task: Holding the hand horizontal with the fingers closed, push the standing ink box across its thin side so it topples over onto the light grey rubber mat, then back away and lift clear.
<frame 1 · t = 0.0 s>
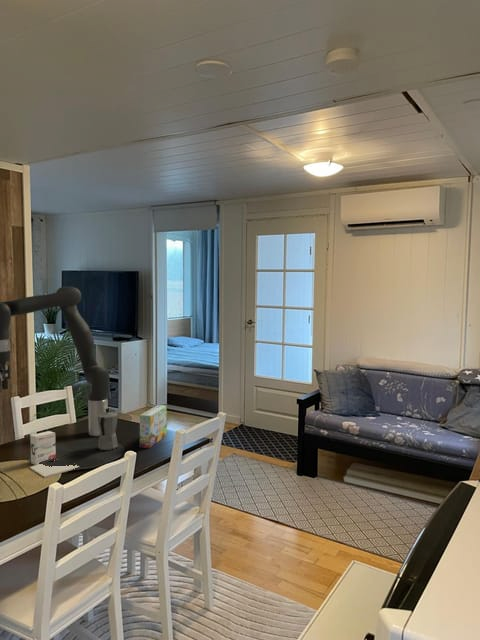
hand: (1, 387, 199), 29 cm above the table, tool pointing down, fingers open, 8 cm apart
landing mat: (54, 468, 186), on the table
snack box: (153, 441, 220), on the table
coffeepot: (107, 449, 209), on the table
ink box: (43, 462, 193), on the table
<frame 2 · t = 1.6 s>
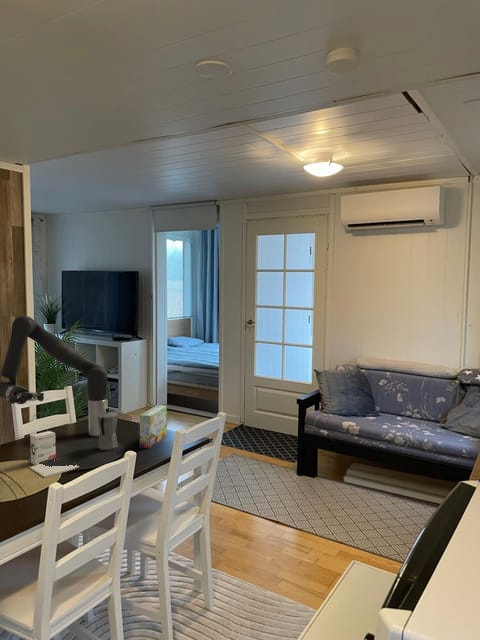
hand: (32, 400, 199), 24 cm above the table, tool horizontal, fingers open, 7 cm apart
nothing on the table moved.
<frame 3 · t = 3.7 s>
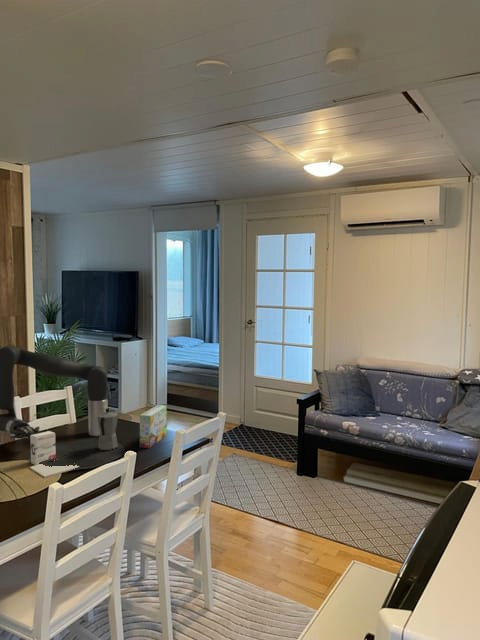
hand: (33, 436, 199), 9 cm above the table, tool horizontal, fingers closed
nothing on the table moved.
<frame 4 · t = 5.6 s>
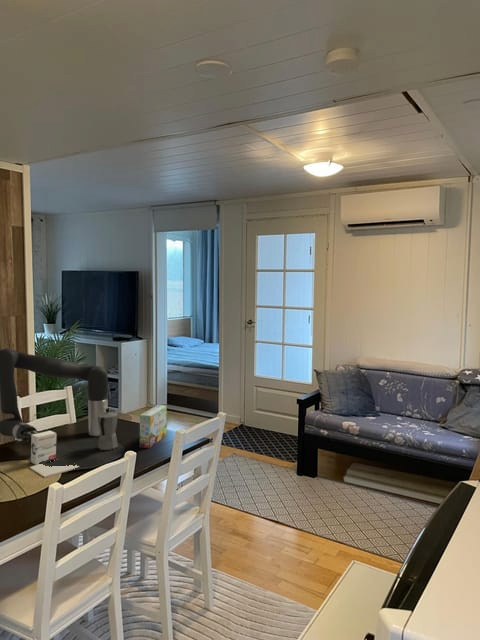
hand: (40, 440, 194), 8 cm above the table, tool horizontal, fingers closed
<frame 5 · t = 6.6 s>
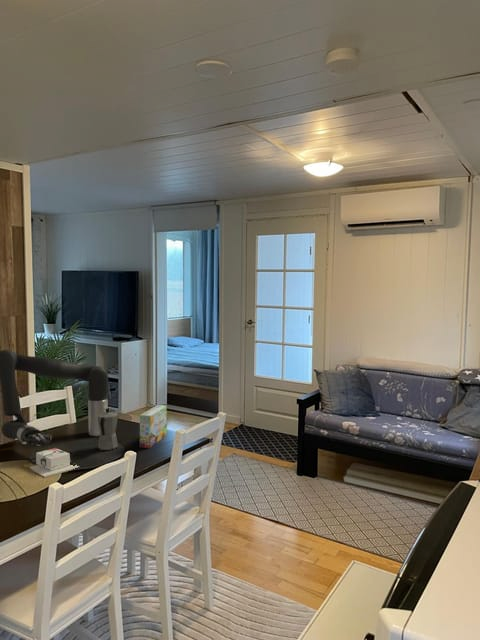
hand: (46, 444, 190), 8 cm above the table, tool horizontal, fingers closed
ink box: (45, 455, 191), point 3 cm above the table, touching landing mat
everything else where it was.
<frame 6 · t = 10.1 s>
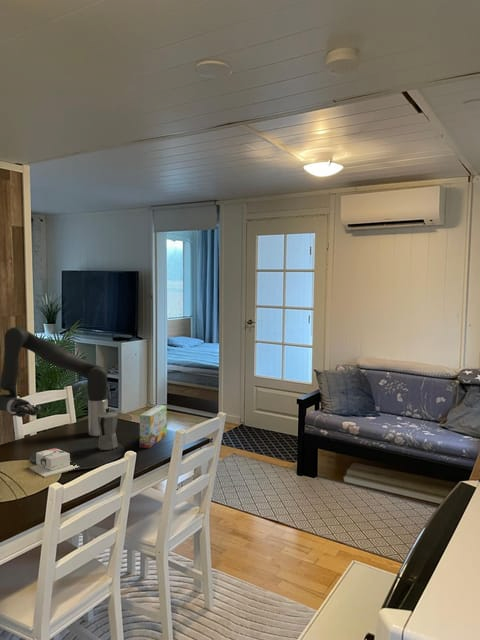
hand: (34, 413, 198), 19 cm above the table, tool horizontal, fingers closed
nothing on the table moved.
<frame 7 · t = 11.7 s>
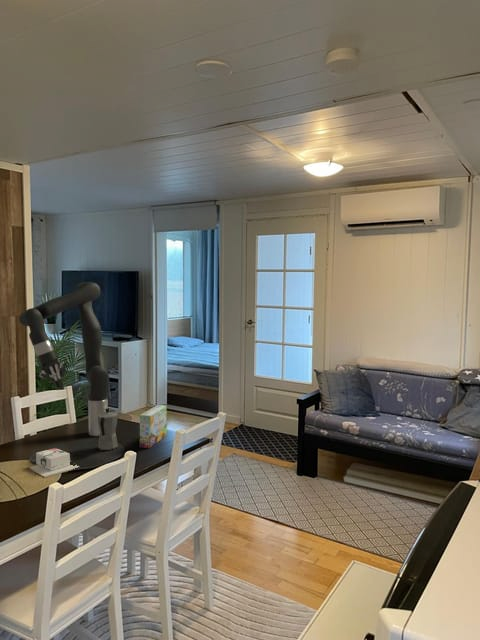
hand: (60, 387, 208), 27 cm above the table, tool tilted 20°, fingers closed
nothing on the table moved.
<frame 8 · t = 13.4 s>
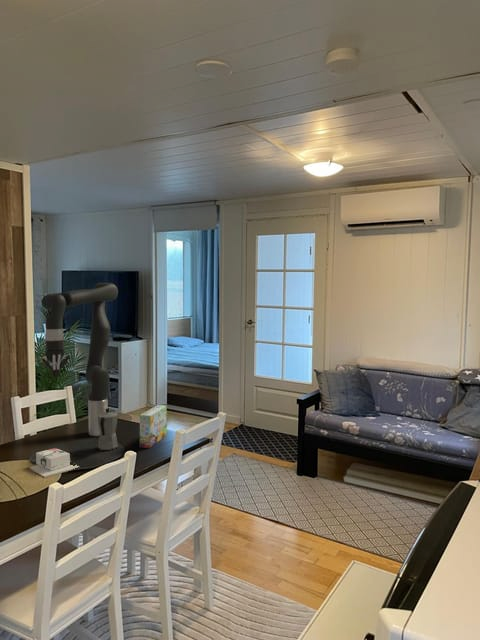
hand: (55, 377, 208), 32 cm above the table, tool pointing down, fingers closed
nothing on the table moved.
at the end: ink box tilted 90°; ink box touching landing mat; ink box inside the target area (2.4 cm from its centre), point 3.0 cm above the table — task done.
